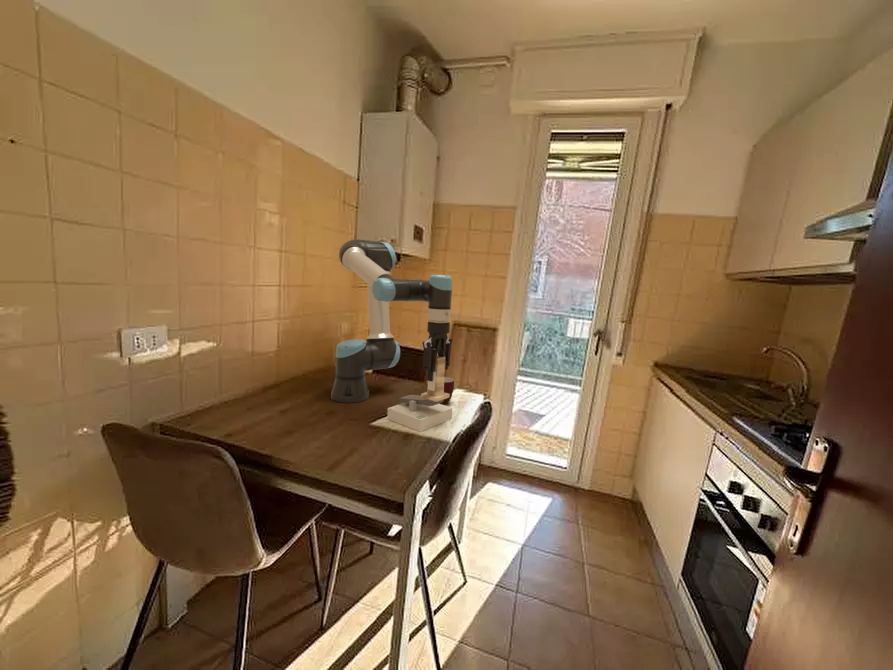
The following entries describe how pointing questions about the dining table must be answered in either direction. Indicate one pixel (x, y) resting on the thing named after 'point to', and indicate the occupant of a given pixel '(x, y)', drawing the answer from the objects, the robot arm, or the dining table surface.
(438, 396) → the wooden post with base
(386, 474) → the dining table surface
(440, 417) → the switch box
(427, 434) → the dining table surface
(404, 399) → the rocker
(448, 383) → the mug
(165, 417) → the dining table surface
